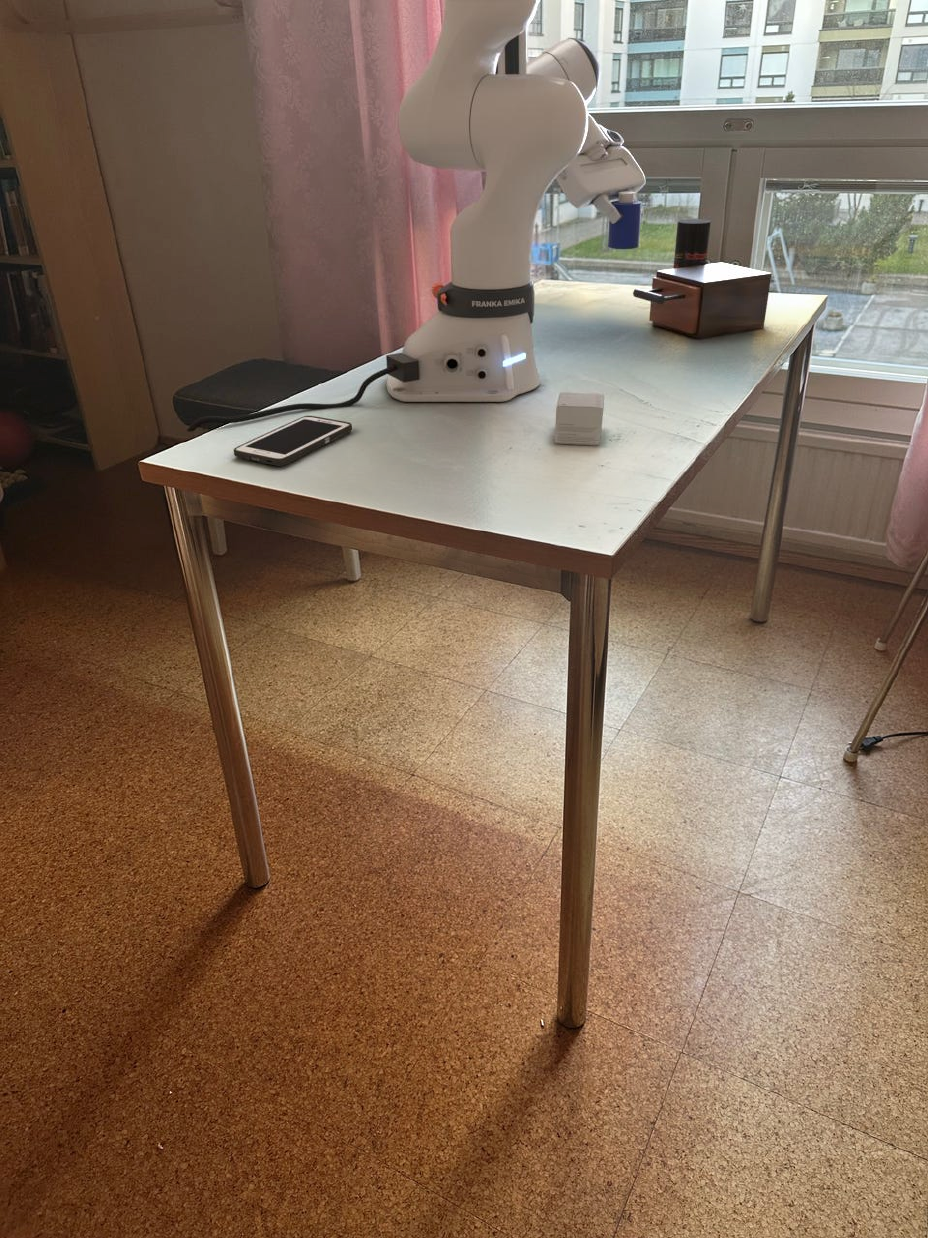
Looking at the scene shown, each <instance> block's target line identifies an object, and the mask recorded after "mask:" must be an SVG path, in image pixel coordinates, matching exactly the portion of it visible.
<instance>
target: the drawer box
mask: <svg viewBox="0 0 928 1238" xmlns="http://www.w3.org/2000/svg"><path fill="white" fill-rule="evenodd" d="M655 277H661V278H665V279H667V278H668V279H672V280H676V281H680V282H684V283H688V284H692V285H696V286H700V287H701V295H700V304H699V313H698V323H697V332H696V333H692V334H690V333H687V332H684V331H681V330H678V329H675V328H671V327H668V326H665V325H662V324H659V323H656V322H652V321H651V323H652V325H654V326H657V327H659V328H663V329H666V330H669V331H672V332H675V333H679V334H682V335H684V336H687V337H691V338H695V339H697V340H700V339H706V338H712V337H717V336H724V335H730V334H736V333H741V332H747V331H753V330H760V329H764V328H765V321H766V314H767V308H768V302H769V295H770V289H771V288H770V287H771V281H772V280H771V279H772V273H771V272H768V271H764V270H763V271H762V270H759V269H754V268H749V267H744V266H739V265H735V264H730V263H725V262H715V263H706V265H698V266H691V267H683V268H675V269H673V268H668V269H660V270H656V276H655Z"/></svg>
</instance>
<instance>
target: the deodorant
mask: <svg viewBox="0 0 928 1238" xmlns="http://www.w3.org/2000/svg"><path fill="white" fill-rule="evenodd" d="M711 223H712V222H711V220H709V219H702V218H686V219H685V218H684V219H679V220H677V224H676V225H677V226H676V235H675V247H674V258H673V268H672V269H675V268H683V267H691V266H698V265H706V264H707V259H708V258H707V257H708V250H709V249H708V248H709V241H710V230H711Z"/></svg>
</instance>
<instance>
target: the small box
mask: <svg viewBox="0 0 928 1238" xmlns="http://www.w3.org/2000/svg"><path fill="white" fill-rule="evenodd" d="M604 406H605V394H604V393H595V392H593V393H592V392H571V391H570V392H569V391H568V392H567V391H561V392H559V395H558V398H557V403H556V408H555V424H554V425H555V427H554V443H555V444H557V445H558V444H559V445H560V444H561V445H579V446H600V445H601V436H602V429H603V419H604V409H605V407H604Z"/></svg>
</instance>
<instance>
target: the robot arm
mask: <svg viewBox="0 0 928 1238" xmlns="http://www.w3.org/2000/svg"><path fill="white" fill-rule="evenodd" d="M540 1H541V0H444V9H443V10H444V11H443V19H442V23H441V29H440V32H439V36H438V38H437V41H436V42H437V43H436V45H435V48H434V50H433V53H432V55H431V58H430V60H429V61H428V64H427V66H426V67H425V69H424V70H423V72H422V73H421V75H420V76H419V77H418V79H416V81H414V83H412V85H410V86H409V88H408V89H407V90H406V92H405V93H404V96H403V98H402V100H401V102H400V106H399V108H398V116H397V130H398V134H399V135H398V136H399V138H400V142H401V144H402V146H403V148H404V150H405V152H406V154H407V155H408V157H409V158H410V159H411V160H412V161H413V162H415V163H418V164H422V165H424V166H427V167H431V168H434V169H438V170H442V171H453V172H455V171H457V172H485V182H484V188H483V191H482V194H481V195H480V198H479V199H478V200H476V201H474V202H473V203H470V204H469V205H468V206H466V207H465V208H463V209H462V210H461V211H460V212H459V213H458V214H457V215H456V217H455V218H454V220H453V221H452V225H451V227H450V231H449V235H450V238H449V239H450V273H451V275H450V276H451V281H450V282H448V283H447V284H445V285H444V283H442V282H440V281H437V282H434V283H433V285H432V286H431V294H432V295H433V297H434V298H435V299H436V302H437V309H438V311H437V312H436V313H435V314H434V315H433V316H431V317H430V318H429V319H428V320H427V321H425V323H423V324H422V325H421V326H420V327H419V328H417V329H416V330H415V331H413V333H412V334H410V335H409V336H408V337H407V338H406V340H405V342H404V345H403V348H402V350H401V351H402V352H398V353H391V354H386V355H385V359H386V368H383V369H381V370H378V371H377V372H375V373H373V374H372V375H370V376H368V377H367V378H366V379H365V380H364V381H363V382H362V383H361V385H360V386H359V389H358V391H357V393H356V394H355V395H354V397H352V398H350V399H348V400H345V401H343V402H339V403H313V402H311V403H309V402H308V403H293V404H287V405H282V406H277V407H273V408H269V409H265V410H261V411H257V412H252V413H247V414H244V415H237V416H218V415H217V416H216V415H207V416H203V417H200V418H198V419H195V421H193V422H192V423H191V424H190V425H189V426H188V428H187V430H186V432H189V433H190V432H194V431H195V430H196V429H197V428H199V427H200V426H202V425H203V424H207V423H208V424H209V423H218V424H219V423H221V424H236V423H242V422H247V421H253V420H257V419H260V418H265V417H270V416H272V415H277V414H282V413H286V412H292V411H298V410H329V409H338V408H346V407H352V406H353V405H355V404H357V403H358V402H360V400H361V399H362V397H363V396H364V394H365V391H366V389H367V388H368V386H369V385H371V384H372V383H373V382H375V381H376V380H378V379H379V378H382V377H384V376H386V375H387V378H386V390H387V392H388V394H389V396H391V397H392V398H393V399H396V400H397V401H400V402H403V403H404V402H405V403H406V402H408V403H411V402H412V403H416V402H417V403H420V402H421V403H429V402H430V403H435V402H436V403H440V402H441V403H454V402H455V403H457V402H459V403H460V402H461V403H463V402H464V403H465V402H466V403H469V402H470V403H471V402H472V403H473V402H474V403H478V402H479V403H483V402H484V403H487V402H489V403H491V402H494V403H495V402H497V403H499V402H500V403H502V402H508V401H510V400H513V398H515V397H516V396H518V395H521V394H524V393H527V392H530V391H533V390H535V389H536V388H537V387H539V386H540V385H541V378H540V374H539V371H538V367H537V362H536V355H535V349H534V341H533V340H534V339H533V329H532V328H533V327H532V324H533V323H534V316H535V289H534V288H535V287H534V285H535V283H534V282H533V281H532V280H531V279H532V256H533V255H532V253H533V240H534V239H533V238H534V230H535V223H536V218H537V215H538V211H539V208H540V205H541V203H542V201H543V199H544V197H545V194H546V193H547V191H548V189H549V188H550V186H551V185H552V183H553V182H554V181H555V180H556V182H557V184H558V186H559V187H560V189H561V191H562V193H563V194H564V197H566V198H567V201H568V202H569V204H570V205H571V206H573V208H576V209H582V208H586V207H587V208H588V207H591V206H594V207H595V209H596V210H597V211H598V212H600V213H601V214H602V215H604V216H605V217H607V219H608V220H609V222H610V221H611V223H612V224H614V223H618V222H619V221H620V220H621V219H622V218H623V214H622V213H621V211H620V210H619V208H615V207H614V206H613V205H612V204H611V202H613V201H618V200H619V192H634V193H635V195H634V201H639V200H638V197H637V194H638V193H639V191H641V190H642V188H643V187H644V186H645V184H646V181H647V180H646V176H645V173H644V172H643V170H642V168H641V167H640V165H639V164H638V162H637V161H636V159H635V158H634V156H633V155H632V154H631V152H630V151H629V150H628V149H627V148H626V147H624V146H622V145H623V144H624V142H625V141H624V138H623V137H622V135H621V134H619V133H618V132H616V131H614V130H610V129H607V128H605V127H604V126H602V125H601V124H598V123H597V122H596V120H595V118H594V117H593V116H591V114H589V112H588V108H587V106H588V104H589V103H591V101H592V100H593V99H594V97H595V96H596V93H597V90H598V87H599V85H600V81H601V80H600V79H601V78H600V77H601V66H600V64H599V61H598V59H597V57H596V54H595V53H594V52H593V51H592V49H591V48H590V47H589V46H588V45H587V44H586V43H585V42H583V41H582V40H580V39H578V38H575V37H567V38H566V39H564V40H561V41H559V42H557V43H556V44H554V45H553V46H551V47H549V48H548V49H546V50H544V51H542V53H540V54H539V55H538V56H536V57H534V58H532V59H530V60H529V61H527V56H528V55H527V53H528V52H527V51H528V50H527V49H528V47H527V45H528V44H527V43H528V40H527V38H528V37H527V36H528V35H527V33H528V27H529V25H530V24H531V23H532V21H533V19H534V17H535V15H536V11H537V8H538V4H539V3H540ZM643 211H644V210H643V208H641V215H642V214H643Z"/></svg>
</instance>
